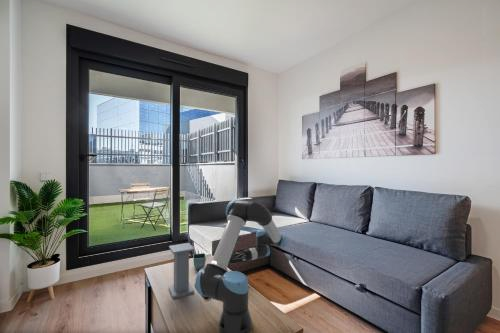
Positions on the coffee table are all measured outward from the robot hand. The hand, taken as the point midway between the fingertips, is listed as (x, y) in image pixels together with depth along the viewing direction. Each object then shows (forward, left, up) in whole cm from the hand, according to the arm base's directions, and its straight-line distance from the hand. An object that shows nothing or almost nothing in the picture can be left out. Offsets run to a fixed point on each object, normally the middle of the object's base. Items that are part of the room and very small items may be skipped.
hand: (218, 261), depth 148 cm
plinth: (-15, +18, -13) cm, 27 cm away
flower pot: (+16, +19, -13) cm, 29 cm away
